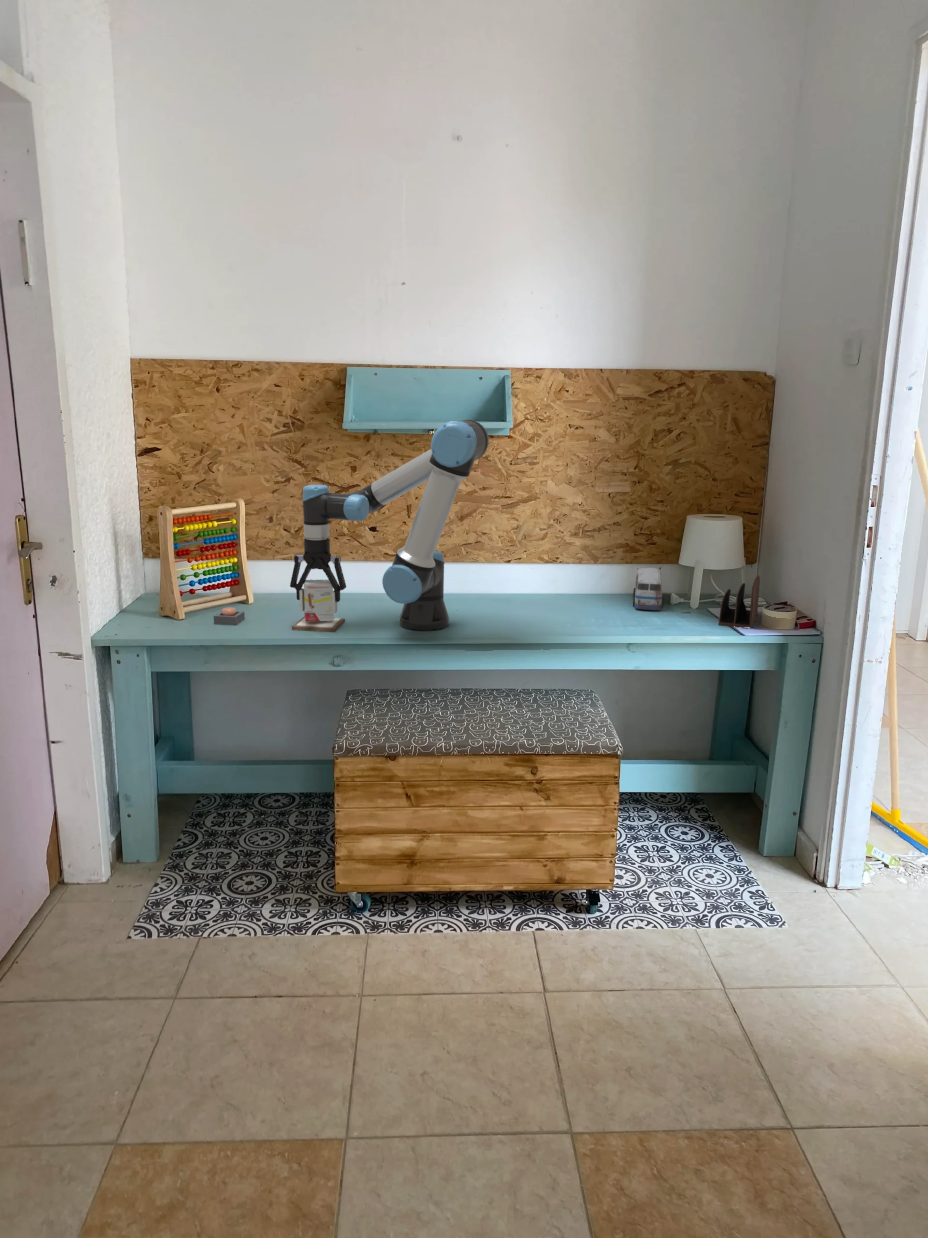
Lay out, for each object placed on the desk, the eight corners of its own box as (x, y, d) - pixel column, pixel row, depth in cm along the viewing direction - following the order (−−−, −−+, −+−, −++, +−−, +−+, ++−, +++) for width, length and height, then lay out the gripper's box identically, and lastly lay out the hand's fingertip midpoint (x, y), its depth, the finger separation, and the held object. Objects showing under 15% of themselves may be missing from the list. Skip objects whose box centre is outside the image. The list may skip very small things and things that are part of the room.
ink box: (304, 622, 273) (303, 583, 270) (304, 617, 277) (303, 579, 274) (333, 621, 274) (332, 582, 271) (333, 616, 279) (332, 579, 276)
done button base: (244, 619, 282) (244, 611, 281) (236, 625, 275) (235, 617, 275) (223, 618, 283) (222, 610, 282) (213, 623, 276) (213, 615, 276)
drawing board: (345, 621, 281) (345, 617, 281) (334, 632, 270) (334, 628, 270) (304, 619, 283) (304, 615, 283) (291, 629, 272) (291, 625, 271)
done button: (237, 615, 280) (237, 607, 280) (232, 618, 277) (232, 610, 276) (225, 614, 281) (225, 607, 280) (220, 617, 277) (220, 610, 276)
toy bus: (661, 594, 324) (663, 566, 322) (663, 613, 299) (665, 583, 296) (633, 592, 326) (635, 565, 323) (632, 611, 300) (634, 581, 298)
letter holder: (757, 614, 299) (761, 572, 295) (751, 629, 281) (755, 585, 277) (726, 611, 302) (730, 569, 299) (717, 625, 285) (722, 581, 281)
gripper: (356, 537, 272) (357, 610, 277) (285, 534, 274) (287, 606, 280) (349, 541, 264) (351, 616, 270) (276, 538, 267) (279, 612, 273)
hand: (318, 611), depth 275 cm, fingers closed on ink box, 9 cm apart
